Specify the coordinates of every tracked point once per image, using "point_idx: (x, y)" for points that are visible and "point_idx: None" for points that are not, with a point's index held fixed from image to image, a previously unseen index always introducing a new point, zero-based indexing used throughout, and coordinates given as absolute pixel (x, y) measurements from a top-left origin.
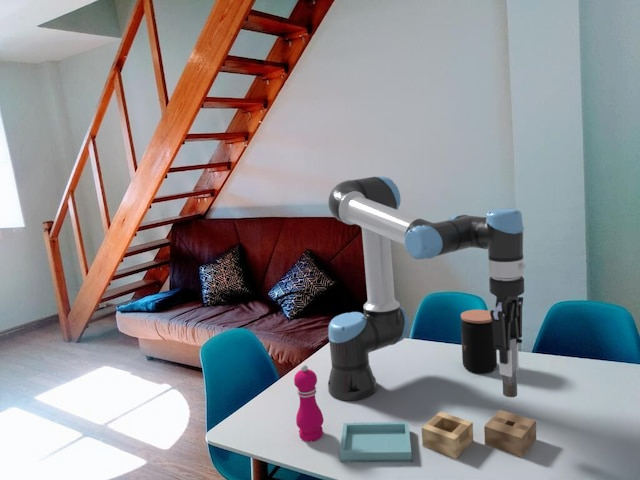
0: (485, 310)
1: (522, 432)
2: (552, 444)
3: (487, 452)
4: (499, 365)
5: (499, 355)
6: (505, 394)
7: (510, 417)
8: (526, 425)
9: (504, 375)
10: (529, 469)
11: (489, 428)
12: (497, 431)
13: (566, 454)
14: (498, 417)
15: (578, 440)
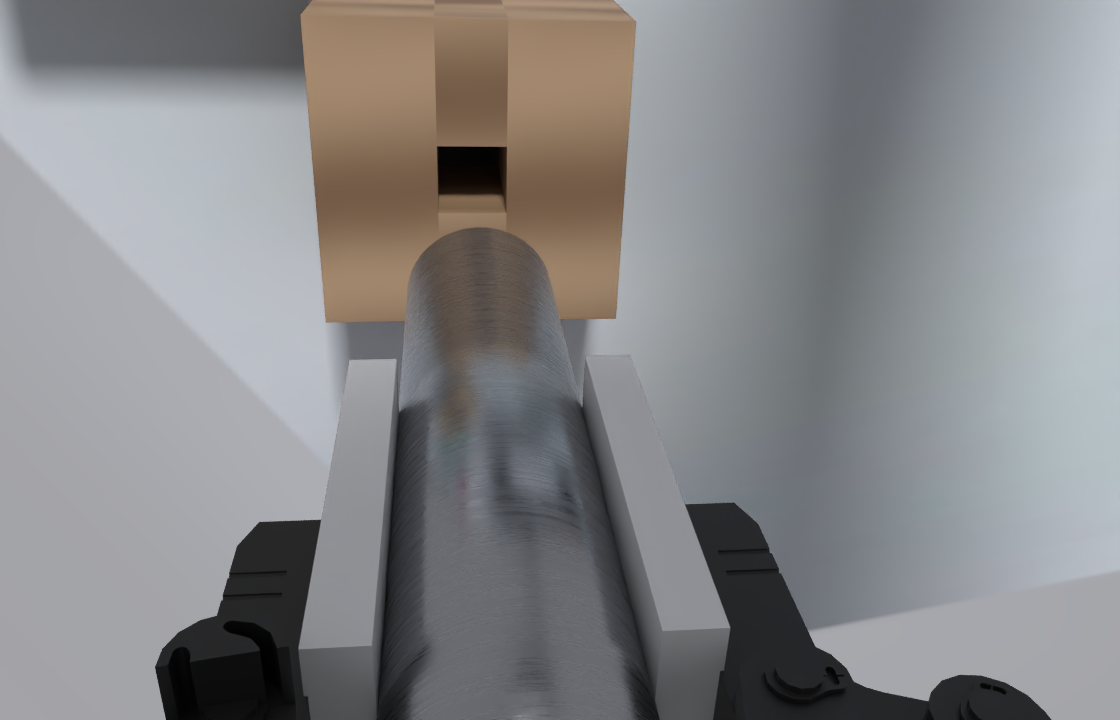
0: None
1: (401, 301)
2: (590, 351)
3: (244, 47)
4: (339, 432)
5: (319, 549)
6: (409, 283)
7: (560, 148)
8: None
9: (404, 387)
10: (258, 334)
11: (306, 63)
12: (310, 136)
13: None
14: (506, 63)
15: (707, 444)
